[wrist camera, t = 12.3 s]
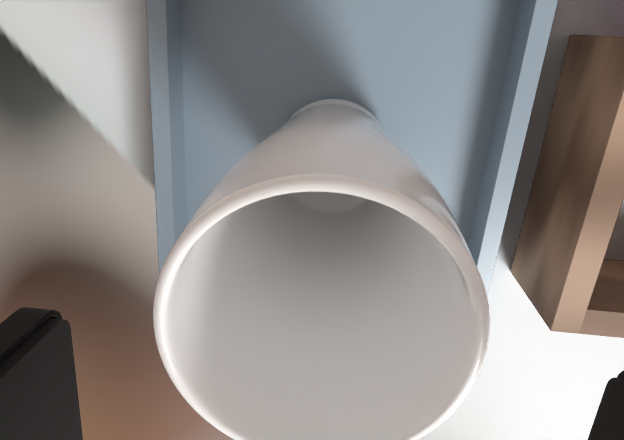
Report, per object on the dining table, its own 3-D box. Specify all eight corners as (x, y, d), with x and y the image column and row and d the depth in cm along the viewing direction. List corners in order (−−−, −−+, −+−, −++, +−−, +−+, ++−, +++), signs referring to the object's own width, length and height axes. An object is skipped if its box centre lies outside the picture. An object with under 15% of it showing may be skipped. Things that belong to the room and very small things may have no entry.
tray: (461, 316, 27) (474, 348, 25) (179, 289, 28) (161, 318, 25) (541, -46, 21) (571, -57, 18) (168, -74, 21) (141, -89, 18)
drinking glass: (425, 187, 24) (541, 415, 10) (300, 239, 25) (247, 502, 11) (370, 54, 22) (420, 104, 8) (237, 118, 23) (77, 260, 9)
